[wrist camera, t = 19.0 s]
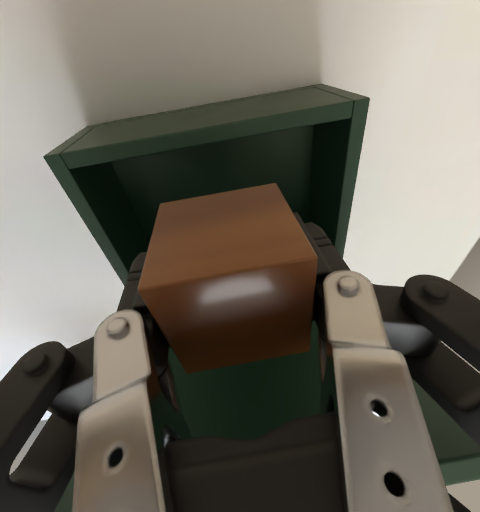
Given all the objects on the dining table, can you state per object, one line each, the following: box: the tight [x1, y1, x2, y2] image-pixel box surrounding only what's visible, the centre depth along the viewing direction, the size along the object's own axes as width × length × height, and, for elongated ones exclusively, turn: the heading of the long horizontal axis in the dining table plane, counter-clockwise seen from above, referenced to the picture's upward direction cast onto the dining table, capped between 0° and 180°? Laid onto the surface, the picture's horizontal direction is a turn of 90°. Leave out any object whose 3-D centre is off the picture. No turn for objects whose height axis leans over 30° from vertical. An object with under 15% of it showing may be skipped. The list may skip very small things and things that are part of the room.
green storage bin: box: [43, 84, 370, 286], centre depth 19 cm, size 14×16×6 cm
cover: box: [54, 321, 480, 512], centre depth 14 cm, size 14×16×5 cm
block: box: [138, 183, 318, 374], centre depth 9 cm, size 4×4×4 cm
